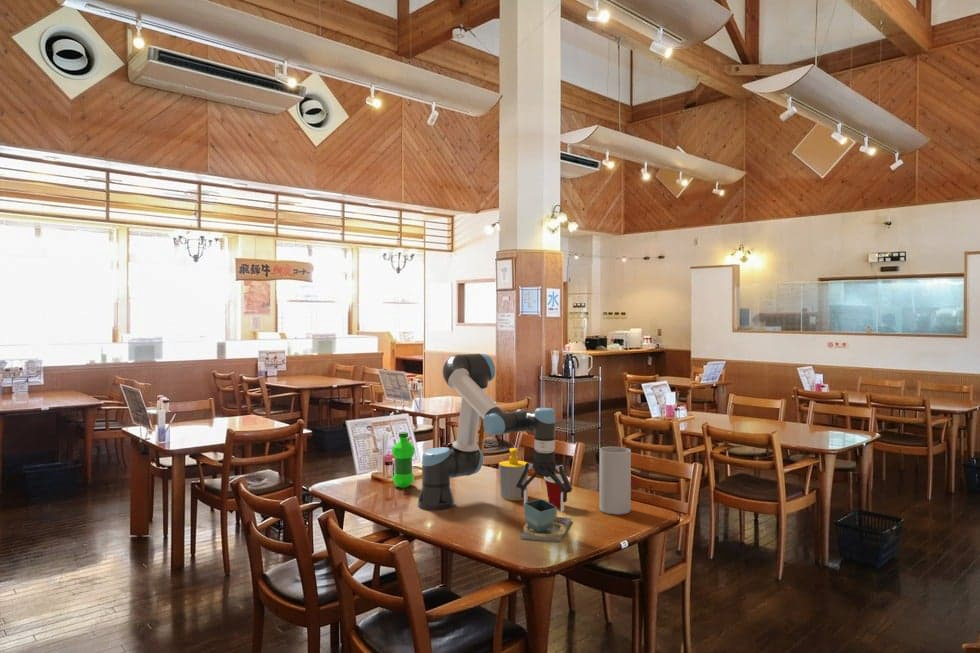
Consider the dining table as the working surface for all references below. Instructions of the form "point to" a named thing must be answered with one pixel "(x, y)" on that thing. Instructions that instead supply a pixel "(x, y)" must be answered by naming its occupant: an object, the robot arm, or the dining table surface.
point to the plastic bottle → (403, 461)
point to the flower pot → (539, 514)
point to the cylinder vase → (615, 480)
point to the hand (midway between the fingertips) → (543, 508)
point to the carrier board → (548, 530)
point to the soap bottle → (511, 476)
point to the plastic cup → (554, 490)
